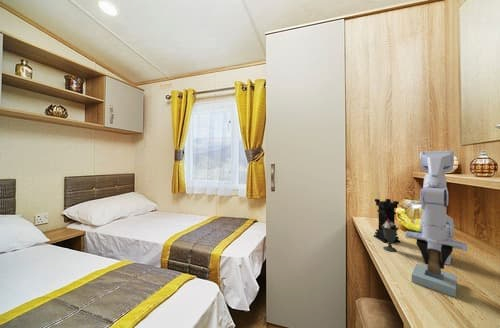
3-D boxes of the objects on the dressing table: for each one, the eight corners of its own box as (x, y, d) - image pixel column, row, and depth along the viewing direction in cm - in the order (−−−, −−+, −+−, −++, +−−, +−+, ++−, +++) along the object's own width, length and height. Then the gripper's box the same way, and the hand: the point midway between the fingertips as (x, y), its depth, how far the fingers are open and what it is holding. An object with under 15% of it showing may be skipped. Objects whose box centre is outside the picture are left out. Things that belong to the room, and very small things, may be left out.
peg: (427, 267, 66) (427, 247, 66) (440, 271, 64) (440, 250, 64) (427, 272, 63) (427, 250, 63) (441, 275, 61) (441, 253, 61)
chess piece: (400, 242, 94) (400, 201, 94) (383, 242, 94) (383, 202, 94) (388, 236, 102) (388, 198, 102) (373, 236, 102) (373, 198, 102)
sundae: (381, 244, 92) (381, 213, 92) (399, 248, 88) (399, 215, 88) (380, 249, 87) (379, 216, 87) (398, 254, 83) (398, 219, 83)
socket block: (416, 270, 71) (416, 263, 71) (456, 282, 63) (456, 275, 63) (411, 281, 64) (411, 274, 64) (455, 297, 56) (455, 289, 56)
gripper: (403, 221, 66) (403, 261, 66) (467, 233, 55) (467, 280, 55) (407, 217, 71) (407, 254, 71) (467, 227, 60) (467, 270, 60)
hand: (434, 265), depth 63 cm, fingers closed on peg, 3 cm apart
